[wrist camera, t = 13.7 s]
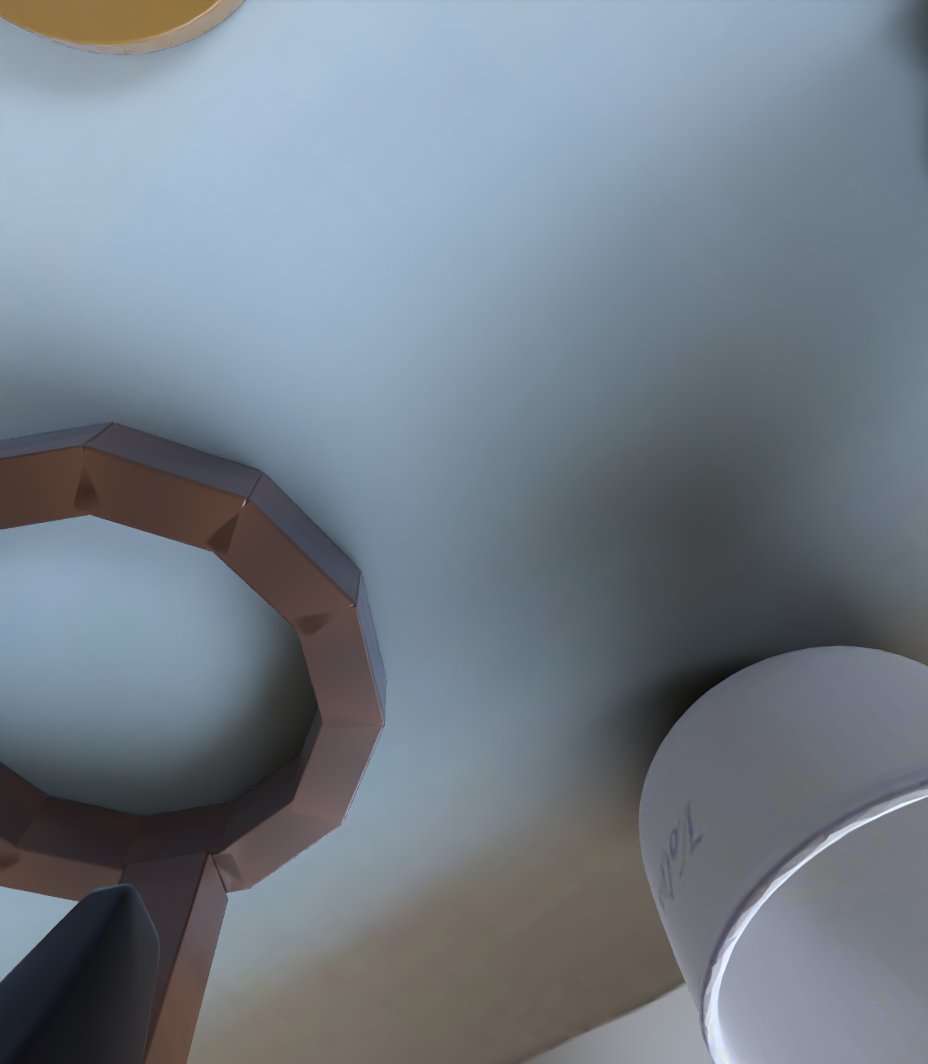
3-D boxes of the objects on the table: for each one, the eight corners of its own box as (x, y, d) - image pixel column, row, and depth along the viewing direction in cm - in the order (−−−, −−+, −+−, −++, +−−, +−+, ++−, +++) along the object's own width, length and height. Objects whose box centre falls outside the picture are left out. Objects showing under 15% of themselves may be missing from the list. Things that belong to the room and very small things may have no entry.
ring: (318, 386, 18) (259, 509, 10) (417, 815, 23) (424, 1090, 16) (-242, 479, 18) (-699, 669, 10) (-8, 887, 23) (-198, 1198, 16)
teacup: (552, 696, 22) (627, 939, 15) (900, 528, 21) (1176, 704, 13) (714, 962, 27) (827, 1238, 20) (999, 843, 26) (1234, 1093, 19)
